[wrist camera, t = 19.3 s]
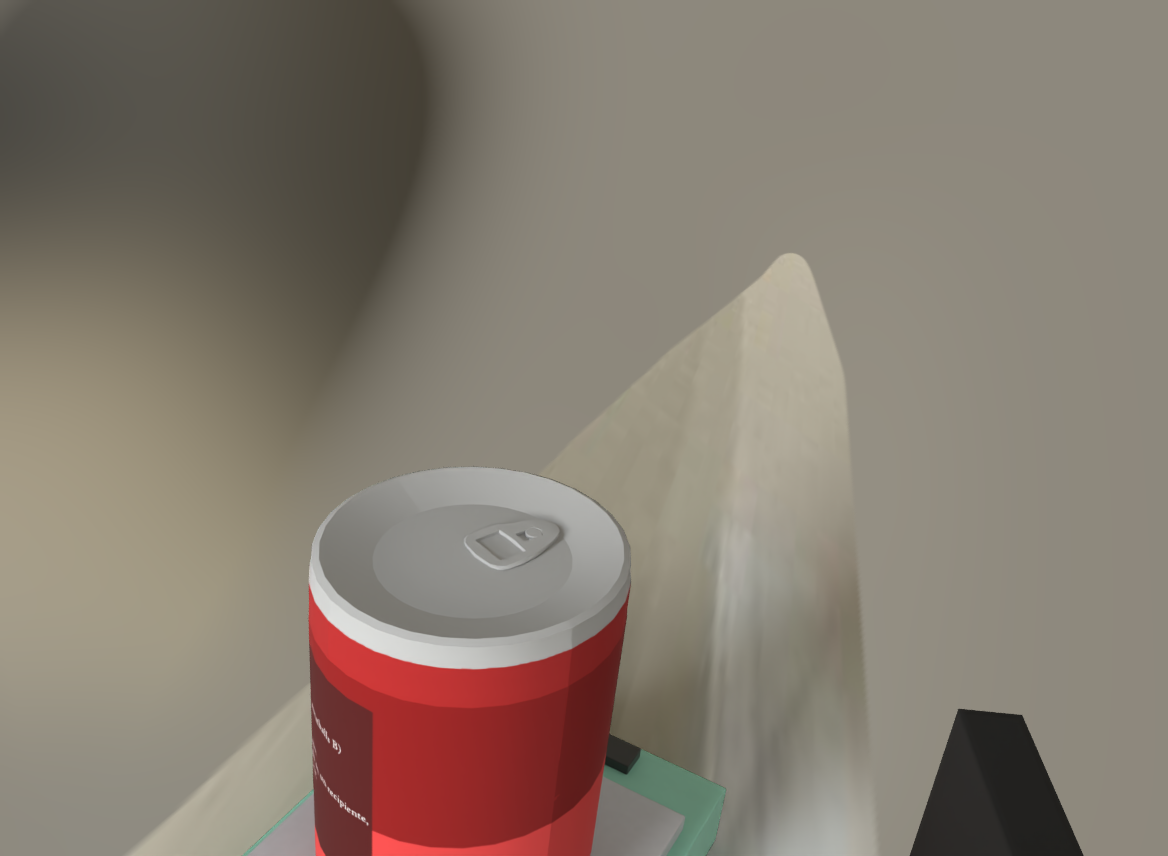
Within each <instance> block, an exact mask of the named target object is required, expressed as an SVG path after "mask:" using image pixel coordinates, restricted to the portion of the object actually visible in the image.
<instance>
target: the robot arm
mask: <svg viewBox="0 0 1168 856" xmlns="http://www.w3.org/2000/svg"><path fill="white" fill-rule="evenodd" d="M910 856H1083V853H1082V851H1081V849H1080V846H1079V844H1078V842H1077V840H1076V837H1075V835H1074V833H1073V830H1072V828H1071V826H1070V824H1069V821H1068V819H1067V817H1066V815H1065V812H1064V810H1063V808H1062V805H1061V803H1060V801H1059V799H1058V796H1057V794H1056V792H1055V789H1054V787H1053V785H1052V782H1051V780H1050V778H1049V776H1048V773H1047V771H1046V769H1045V766H1044V764H1043V762H1042V760H1041V757H1040V755H1039V753H1038V750H1037V748H1036V746H1035V744H1034V741H1033V739H1032V737H1031V734H1030V732H1029V730H1028V728H1027V725H1026V723H1025V721H1024V718H1023V716H1022V715H1015V714H1005V713H995V712H985V711H975V710H965V709H958V712H957V715H956V718H955V721H954V724H953V727H952V730H951V733H950V736H949V739H948V742H947V745H946V748H945V751H944V754H943V757H942V760H941V763H940V766H939V770H938V772H937V775H936V778H935V781H934V784H933V788H932V790H931V793H930V797H929V799H928V802H927V805H926V809H925V811H924V814H923V818H922V821H921V824H920V826H919V829H918V833H917V836H916V838H915V841H914V844H913V848H912V850H911V854H910Z"/></svg>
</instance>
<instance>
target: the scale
mask: <svg viewBox="0 0 1168 856" xmlns="http://www.w3.org/2000/svg"><path fill="white" fill-rule="evenodd" d="M725 793H726V788H724V787H722V786H720V785H718V784H715V783H713V782H711V781H709V780H707V779H705V778H703V777H700V776H698V775H696V774H694V773H692V772H690V771H687V770H685V769H683V768H681V767H679V766H677V765H675V764H672V763H670V762H668V761H666V760H664V759H662V758H659V757H657V756H655V755H653V754H651V753H649V752H647V751H644V750H642V749H640V748H638V747H636V746H634V745H632V744H630V743H627V742H625V741H623V740H621V739H619V738H617V737H615V736H612V735H610V734H609V738H608V745H607V751H606V758H605V764H604V771H603V778H602V784H601V791H600V797H599V804H598V810H597V817H596V824H595V830H594V837H593V843H592V850H591V854H590V856H706V855H707V853H708V851H709V849H710V848H711V846H712V844H713V843H714V841H715V839H716V834H717V830H718V825H719V820H720V816H721V811H722V807H723V802H724V797H725ZM242 856H316V851H315V817H314V789H313V790H312V791H311V792H310V793H309V794H308V795H307V796H305V797H304V798H303V799H302V800H301V801H300V802H299V803H298V804H297V805H296V806H295V807H294V808H293V809H292V810H291V811H289V812H288V813H287V814H286V815H285V816H284V817H283V818H282V819H281V820H280V821H279V822H278V823H277V824H276V825H275V826H273V827H272V828H271V829H270V830H269V831H268V832H267V833H266V834H265V835H264V836H263V837H262V838H261V839H260V840H259V841H257V842H256V843H255V844H254V845H253V846H252V847H251V848H250V849H249V850H248V851H247V852H246V853H245V854H244V855H242Z"/></svg>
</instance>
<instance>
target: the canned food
mask: <svg viewBox="0 0 1168 856" xmlns="http://www.w3.org/2000/svg"><path fill="white" fill-rule="evenodd" d="M309 566H310V567H309V646H310V647H309V648H310V682H311V716H312V750H313V784H314V817H315V851H316V856H590V854H591V850H592V843H593V837H594V830H595V824H596V817H597V810H598V804H599V797H600V791H601V784H602V778H603V771H604V764H605V758H606V751H607V745H608V738H609V731H610V725H611V718H612V712H613V705H614V699H615V692H616V685H617V679H618V672H619V666H620V659H621V652H622V646H623V639H624V633H625V626H626V620H627V607H628V600H629V593H630V586H631V573H630V568H631V553H630V545H629V542H628V540H627V537H626V535H625V532H624V530H623V528H622V527H621V526H620V524H619V523H618V522H617V521H616V519H615V518H614V517H613V515H612V514H611V513H610V512H608V511H607V510H606V509H605V508H604V507H603V506H601V505H600V504H599V503H598V502H597V501H595V500H594V499H592V498H590V497H589V496H587V495H585V494H583V493H582V492H580V491H578V490H577V489H574V488H572V487H570V486H567V485H565V484H562V483H560V482H558V481H555V480H552V479H549V478H545V477H542V476H538V475H534V474H531V473H527V472H521V471H515V470H509V469H503V468H489V467H488V468H487V467H474V466H473V467H446V468H438V469H431V470H424V471H417V472H413V473H409V474H405V475H401V476H397V477H393V478H390V479H388V480H385V481H383V482H380V483H377V484H374V485H372V486H369V487H367V488H365V489H364V490H362V491H361V492H358V493H357V494H355V495H353V496H351V497H349V498H348V499H347V500H345V501H344V502H343V503H342V504H340V505H339V506H338V507H337V508H335V509H334V510H333V511H332V512H331V513H330V514H329V515H328V517H327V518H326V519H325V520H324V522H323V523H322V524H321V526H320V527H319V528H318V531H317V533H316V536H315V538H314V541H313V543H312V554H311V561H310V564H309Z"/></svg>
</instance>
